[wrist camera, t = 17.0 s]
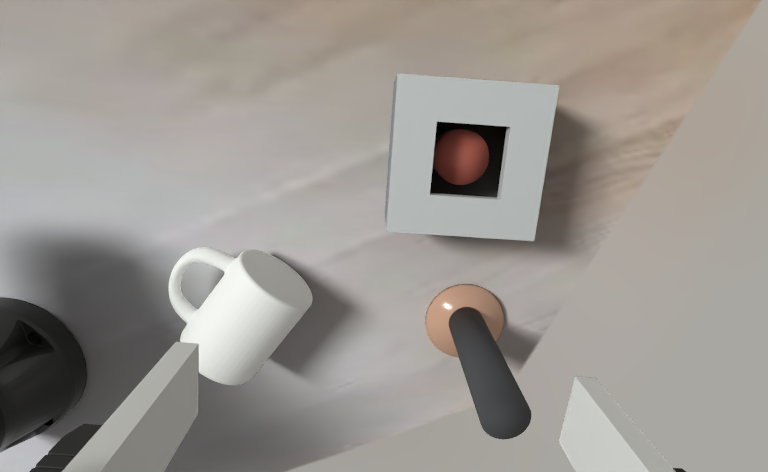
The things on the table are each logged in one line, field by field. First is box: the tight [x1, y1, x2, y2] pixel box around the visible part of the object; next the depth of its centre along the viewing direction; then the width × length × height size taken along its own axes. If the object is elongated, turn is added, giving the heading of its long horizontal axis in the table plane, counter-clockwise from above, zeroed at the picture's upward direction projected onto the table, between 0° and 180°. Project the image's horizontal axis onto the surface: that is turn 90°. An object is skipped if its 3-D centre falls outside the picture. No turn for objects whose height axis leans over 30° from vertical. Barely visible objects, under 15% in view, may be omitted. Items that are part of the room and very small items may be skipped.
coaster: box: [426, 284, 504, 357], centre depth 47 cm, size 8×8×1 cm
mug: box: [169, 247, 313, 385], centre depth 42 cm, size 12×10×8 cm
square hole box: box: [385, 74, 559, 241], centre depth 39 cm, size 12×12×8 cm
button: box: [433, 129, 489, 185], centre depth 39 cm, size 5×5×3 cm
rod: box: [449, 307, 531, 439], centre depth 39 cm, size 4×4×15 cm
